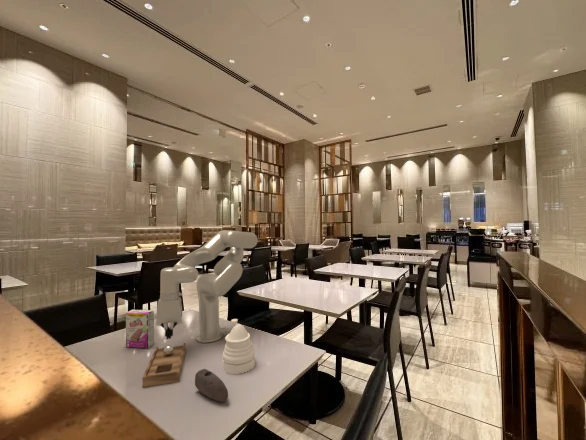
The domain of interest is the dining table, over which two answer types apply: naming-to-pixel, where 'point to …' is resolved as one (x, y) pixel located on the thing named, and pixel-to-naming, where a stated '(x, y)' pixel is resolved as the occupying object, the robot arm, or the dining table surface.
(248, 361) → the honey pot
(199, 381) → the perforated stone tool
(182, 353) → the track
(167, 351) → the ball
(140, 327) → the candy bar box
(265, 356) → the dining table surface
